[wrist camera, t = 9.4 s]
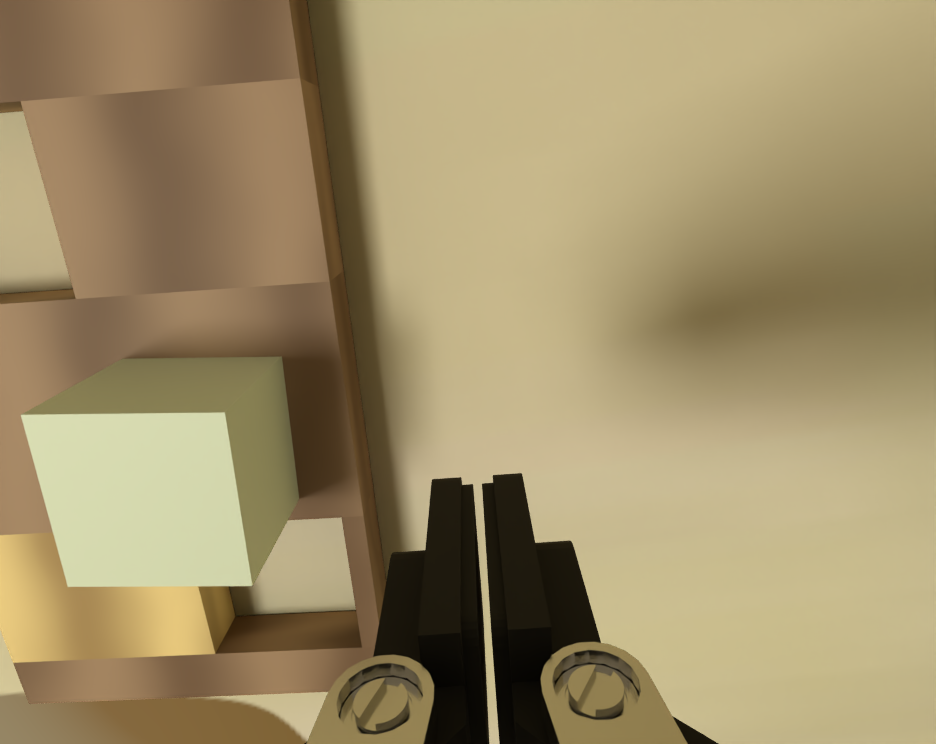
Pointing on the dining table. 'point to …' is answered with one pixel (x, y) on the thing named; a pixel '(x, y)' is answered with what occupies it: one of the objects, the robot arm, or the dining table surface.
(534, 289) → the dining table surface
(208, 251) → the board with square holes
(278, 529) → the block
